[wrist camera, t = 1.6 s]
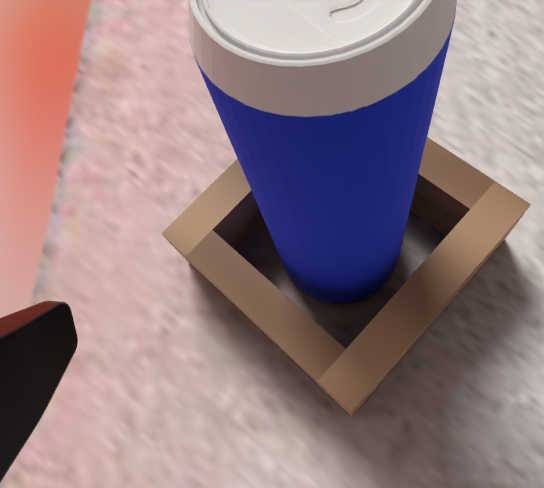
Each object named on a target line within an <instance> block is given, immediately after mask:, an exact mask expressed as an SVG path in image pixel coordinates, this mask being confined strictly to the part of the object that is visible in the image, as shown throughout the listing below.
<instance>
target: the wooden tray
mask: <svg viewBox="0 0 544 488" xmlns="http://www.w3.org/2000/svg"><path fill="white" fill-rule="evenodd" d="M530 205H531V204H529V203H528V202H526V201H525V200H523V199H522V198H520V197H519V196H517V195H516V194H514V193H513V192H511V191H509V190H508V189H506V188H505V187H503V186H502V185H500V184H499V183H497V182H496V181H494V180H493V179H491V178H489V177H488V176H486V175H485V174H483V173H482V172H480V171H479V170H477V169H476V168H474V167H472V166H471V165H469V164H468V163H466V162H465V161H463V160H462V159H460V158H459V157H457V156H456V155H454V154H452V153H451V152H449V151H448V150H446V149H445V148H443V147H442V146H440V145H439V144H437V143H436V142H434V141H432V140H431V139H429V138H428V137H427V139H426V143H425V147H424V152H423V156H422V160H421V164H420V169H419V173H418V177H417V181H416V186H415V190H414V194H413V198H412V203H411V207H410V211H411V212H412V213H413V214H415V215H416V216H418V217H419V218H420V219H422V220H423V221H425V222H426V223H427V224H429V225H430V226H431V227H433V228H434V229H436V230H437V231H438V232H440V233H441V234H443V235H444V236H445V238H444V239H443V241H442V242H441V243H440V244H439V245H438V246H437V247H436V248H435V250H434V251H433V252H432V253H431V254H430V255H429V256H428V257H427V259H426V260H425V261H424V262H423V263H422V264H421V265H420V266H419V268H418V269H417V270H416V271H415V272H414V273H413V274H412V275H411V277H410V278H409V279H408V280H407V281H406V282H405V283H404V284H403V286H402V287H401V288H400V289H399V290H398V291H397V292H396V293H395V295H394V296H393V297H392V298H391V299H390V300H389V301H388V302H387V304H386V305H385V306H384V307H383V308H382V309H381V310H380V311H379V313H378V314H377V315H376V316H375V317H374V318H373V319H372V320H371V322H370V323H369V324H368V325H367V326H366V327H365V328H364V329H363V331H362V332H361V333H360V334H359V335H358V336H357V337H356V338H355V340H354V341H353V342H352V343H351V344H350V345H349V346H348V347H347V349H345V348H344V347H343V346H342V345H341V344H340V343H339V342H337V341H336V340H335V339H334V338H333V337H332V336H331V335H330V334H328V333H327V332H326V331H325V330H324V329H323V328H322V327H321V326H319V325H318V324H317V323H316V322H315V321H314V320H313V319H312V318H311V317H309V316H308V315H307V314H306V313H305V312H304V311H303V310H302V309H300V308H299V307H298V306H297V305H296V304H295V303H294V302H293V301H291V300H290V299H289V298H288V297H287V296H286V295H285V294H284V293H282V292H281V291H280V290H279V289H278V288H277V287H276V286H275V285H274V284H272V283H271V282H270V281H269V280H268V279H267V278H266V277H265V276H263V275H262V274H261V273H260V272H259V271H258V270H257V269H256V268H254V267H253V266H252V265H251V264H250V263H249V262H248V261H247V260H246V259H244V258H243V257H242V256H241V255H240V254H239V253H238V252H239V251H240V250H241V249H242V248H243V247H244V246H245V245H246V244H247V243H248V242H249V241H250V240H251V239H252V237H253V236H254V235H255V234H256V233H257V232H258V231H259V230H260V229H261V228H262V227H263V226H264V225H265V224H266V223H265V221H264V219H263V216H262V214H261V212H260V209H259V207H258V204H257V202H256V200H255V197H254V195H253V193H252V190H251V188H250V186H249V183H248V181H247V179H246V176H245V174H244V172H243V169H242V167H241V165H240V162H239V160H238V159H237V160H236V161H235V162H234V163H233V164H232V165H231V166H230V167H229V168H228V169H227V170H226V171H225V172H224V173H223V174H222V175H221V176H219V177H218V178H217V179H216V180H215V181H214V182H213V183H212V184H211V185H210V186H209V187H208V188H207V189H206V190H205V191H204V192H203V193H202V194H201V195H200V196H199V197H198V198H197V199H196V200H195V201H194V202H193V203H192V204H191V205H190V206H189V207H188V208H187V209H186V210H185V211H184V212H183V213H182V214H181V215H180V216H179V217H178V218H177V219H176V220H175V221H174V222H173V223H172V224H171V225H170V226H169V227H168V228H167V229H166V230H165V231H164V232H163V233H162V235H163V236H164V237H165V238H166V239H167V240H168V241H169V242H170V243H171V244H172V245H173V246H174V247H175V248H176V250H177V251H178V252H179V253H180V254H181V255H182V256H183V257H184V258H185V259H186V260H187V261H188V262H189V263H190V264H191V265H192V266H193V267H194V268H195V269H196V270H198V271H199V272H200V273H201V274H202V275H203V276H204V277H205V278H206V279H207V280H208V281H209V282H210V283H211V284H212V285H213V286H214V287H215V288H216V289H218V290H219V291H220V292H221V293H222V294H223V295H224V296H225V297H226V298H227V299H228V300H229V301H230V302H231V303H232V304H233V305H234V306H235V307H236V308H238V309H239V310H240V311H241V312H242V313H243V314H244V315H245V316H246V317H247V318H248V319H249V320H250V321H251V322H252V323H253V324H254V325H255V326H256V327H258V328H259V329H260V330H261V331H262V332H263V333H264V334H265V335H266V336H267V337H268V338H269V339H270V340H271V341H272V342H273V343H274V344H275V345H276V346H278V347H279V348H280V349H281V350H282V351H283V352H284V353H285V354H286V355H287V356H288V357H289V358H290V359H291V360H292V361H293V362H294V363H295V364H297V365H298V366H299V367H300V368H301V369H302V370H303V371H304V372H305V373H306V374H307V375H308V376H309V377H310V378H311V379H312V380H313V381H314V382H315V383H317V384H318V385H319V386H320V387H321V388H322V389H323V390H324V391H325V392H326V393H327V394H328V395H329V396H330V397H331V398H332V399H333V400H334V401H335V402H337V403H338V404H339V405H340V406H341V407H342V408H343V409H344V410H345V411H346V412H347V413H348V414H349V415H350V416H351V417H352V416H353V414H354V413H355V412H356V411H357V410H358V409H359V407H360V406H361V405H362V404H363V403H364V402H365V401H366V399H367V398H368V397H369V396H370V395H371V394H372V392H373V391H374V390H375V389H376V388H377V387H378V385H379V384H380V383H381V382H382V381H383V380H384V378H385V377H386V376H387V375H388V374H389V373H390V372H391V370H392V369H393V368H394V367H395V366H396V365H397V363H398V362H399V361H400V360H401V359H402V358H403V356H404V355H405V354H406V353H407V352H408V351H409V350H410V348H411V347H412V346H413V345H414V344H415V343H416V341H417V340H418V339H419V338H420V337H421V336H422V334H423V333H424V332H425V331H426V330H427V329H428V327H429V326H430V325H431V324H432V323H433V322H434V321H435V319H436V318H437V317H438V316H439V315H440V314H441V312H442V311H443V310H444V309H445V308H446V307H447V305H448V304H449V303H450V302H451V301H452V300H453V299H454V297H455V296H456V295H457V294H458V293H459V292H460V290H461V289H462V288H463V287H464V286H465V285H466V283H467V282H468V281H469V280H470V279H471V278H472V277H473V275H474V274H475V273H476V272H477V271H478V270H479V268H480V267H481V266H482V265H483V264H484V263H485V261H486V260H487V259H488V258H489V257H490V256H491V254H492V253H493V252H494V251H495V250H496V249H497V248H498V246H499V245H500V244H501V243H502V242H503V241H504V239H505V238H506V237H507V235H508V234H509V233H510V231H511V230H512V229H513V227H514V226H515V225H516V223H517V222H518V221H519V219H520V218H521V217H522V215H523V214H524V213H525V211H526V210H527V209H528V207H529V206H530Z"/></svg>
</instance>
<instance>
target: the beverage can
mask: <svg viewBox="0 0 544 488" xmlns="http://www.w3.org/2000/svg"><path fill="white" fill-rule="evenodd" d="M456 2H457V0H188V30H189V41H190V44H191V48H192V51H193V54H194V57H195V59H196V62H197V64H198V67H199V69H200V71H201V74H202V76H203V78H204V81H205V83H206V85H207V88H208V90H209V92H210V95H211V97H212V99H213V102H214V104H215V106H216V109H217V111H218V113H219V116H220V118H221V120H222V123H223V125H224V127H225V130H226V132H227V134H228V137H229V139H230V141H231V144H232V146H233V148H234V151H235V153H236V155H237V158H238V160H239V162H240V165H241V167H242V169H243V172H244V174H245V176H246V179H247V181H248V183H249V186H250V188H251V190H252V193H253V195H254V197H255V200H256V202H257V204H258V207H259V209H260V212H261V214H262V216H263V219H264V221H265V223H266V226H267V228H268V230H269V233H270V235H271V237H272V240H273V242H274V244H275V247H276V249H277V251H278V254H279V256H280V258H281V261H282V263H283V265H284V268H285V270H286V272H287V274H288V276H289V277H290V278H291V280H292V281H293V282H294V284H295V285H296V286H297V287H298V288H300V289H301V290H302V291H303V292H305V293H306V294H308V295H309V296H312V297H314V298H316V299H318V300H322V301H325V302H331V303H349V302H355V301H358V300H361V299H364V298H366V297H368V296H370V295H372V294H373V293H375V292H376V291H378V290H379V289H380V288H381V287H382V286H383V285H384V284H385V283H386V282H387V281H388V280H389V278H390V277H391V275H392V274H393V272H394V270H395V268H396V265H397V262H398V258H399V254H400V250H401V245H402V241H403V237H404V233H405V228H406V224H407V220H408V216H409V211H410V207H411V203H412V198H413V194H414V190H415V186H416V181H417V177H418V173H419V169H420V164H421V160H422V156H423V152H424V147H425V143H426V139H427V134H428V130H429V126H430V122H431V117H432V113H433V109H434V105H435V100H436V96H437V92H438V87H439V83H440V79H441V75H442V70H443V66H444V62H445V58H446V53H447V49H448V45H449V41H450V36H451V32H452V28H453V23H454V19H455V14H456Z"/></svg>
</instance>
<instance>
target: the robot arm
mask: <svg viewBox="0 0 544 488" xmlns="http://www.w3.org/2000/svg"><path fill="white" fill-rule="evenodd" d="M77 343H78V339H77V333H76V329H75V325H74V321H73V317H72V312H71V309H70V307H69V305H68V304H67V303H65V302H58V301H44V302H41V303H39V304H36V305H34V306H31V307H28V308H26V309H23V310H20V311H18V312H15V313H13V314H10V315H7V316H5V317H2V318H0V482H1V481H2V479H3V478H4V476H5V474H6V473H7V471H8V470H9V468H10V467H11V465H12V463H13V462H14V460H15V459H16V457H17V456H18V454H19V452H20V451H21V449H22V448H23V446H24V445H25V443H26V441H27V440H28V438H29V437H30V435H31V434H32V432H33V430H34V429H35V427H36V426H37V424H38V422H39V421H40V419H41V417H42V415H43V414H44V412H45V410H46V408H47V406H48V404H49V402H50V400H51V398H52V396H53V394H54V392H55V390H56V388H57V387H58V385H59V383H60V381H61V379H62V377H63V375H64V373H65V371H66V369H67V367H68V365H69V363H70V361H71V359H72V357H73V355H74V353H75V351H76V348H77Z"/></svg>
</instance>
